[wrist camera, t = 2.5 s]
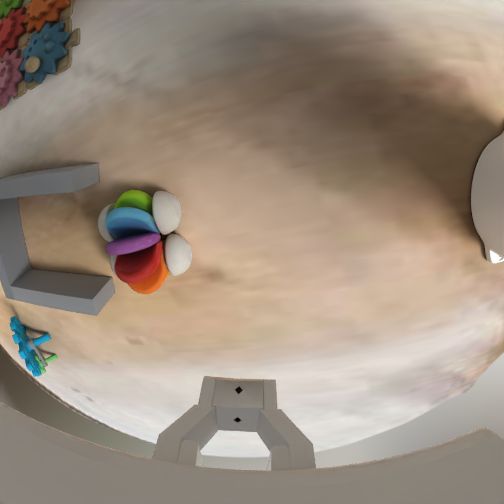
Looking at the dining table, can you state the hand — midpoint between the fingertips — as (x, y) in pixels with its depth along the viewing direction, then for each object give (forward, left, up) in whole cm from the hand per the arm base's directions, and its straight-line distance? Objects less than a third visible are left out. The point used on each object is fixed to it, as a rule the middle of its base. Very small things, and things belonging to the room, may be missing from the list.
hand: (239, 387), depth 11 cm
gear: (+34, +18, -19) cm, 43 cm away
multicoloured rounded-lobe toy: (+10, 0, -19) cm, 21 cm away
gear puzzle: (+29, -33, -19) cm, 48 cm away
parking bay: (+23, 0, -18) cm, 30 cm away
